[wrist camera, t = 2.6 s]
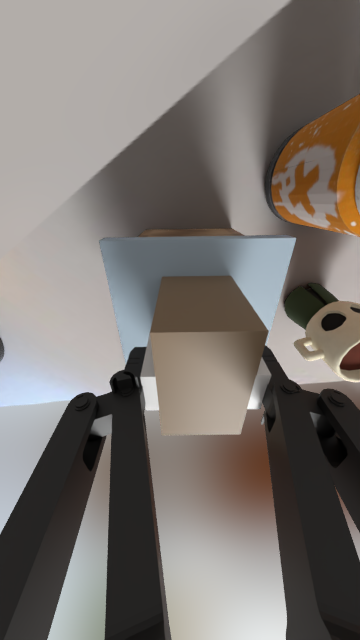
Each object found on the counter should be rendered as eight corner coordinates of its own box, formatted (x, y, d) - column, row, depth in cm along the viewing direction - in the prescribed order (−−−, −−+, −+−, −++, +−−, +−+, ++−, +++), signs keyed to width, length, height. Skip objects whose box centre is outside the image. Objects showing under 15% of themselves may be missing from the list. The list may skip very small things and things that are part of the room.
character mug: (341, 267, 28) (449, 312, 17) (339, 308, 31) (427, 368, 20) (264, 292, 30) (314, 348, 19) (270, 328, 33) (316, 393, 22)
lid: (133, 361, 22) (107, 455, 14) (109, 234, 15) (30, 276, 7) (250, 359, 22) (291, 452, 14) (280, 232, 15) (398, 271, 7)
